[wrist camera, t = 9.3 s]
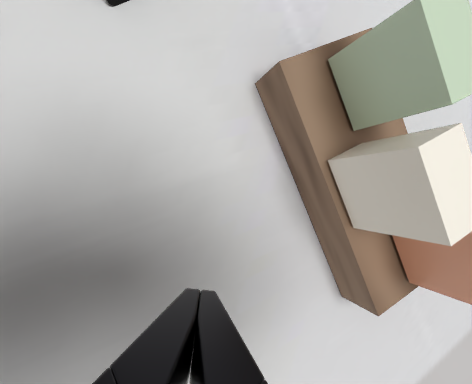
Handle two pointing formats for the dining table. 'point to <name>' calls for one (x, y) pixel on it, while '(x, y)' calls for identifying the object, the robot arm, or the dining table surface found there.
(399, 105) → the sage key
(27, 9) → the dining table surface
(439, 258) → the terracotta key
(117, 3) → the electric trimmer
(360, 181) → the cream key
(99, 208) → the dining table surface
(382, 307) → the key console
